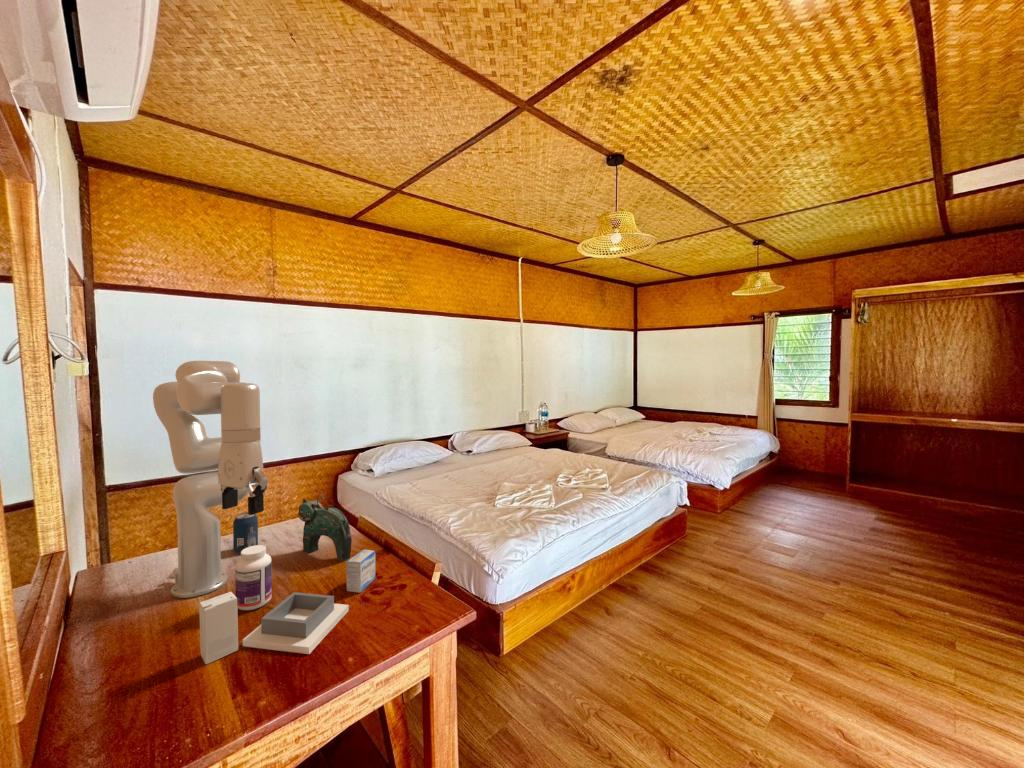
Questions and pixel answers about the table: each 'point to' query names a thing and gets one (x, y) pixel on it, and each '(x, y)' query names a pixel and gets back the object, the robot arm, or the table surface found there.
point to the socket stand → (297, 623)
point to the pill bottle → (253, 578)
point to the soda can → (245, 532)
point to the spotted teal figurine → (325, 528)
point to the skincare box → (218, 627)
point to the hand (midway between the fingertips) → (242, 510)
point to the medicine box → (360, 571)
